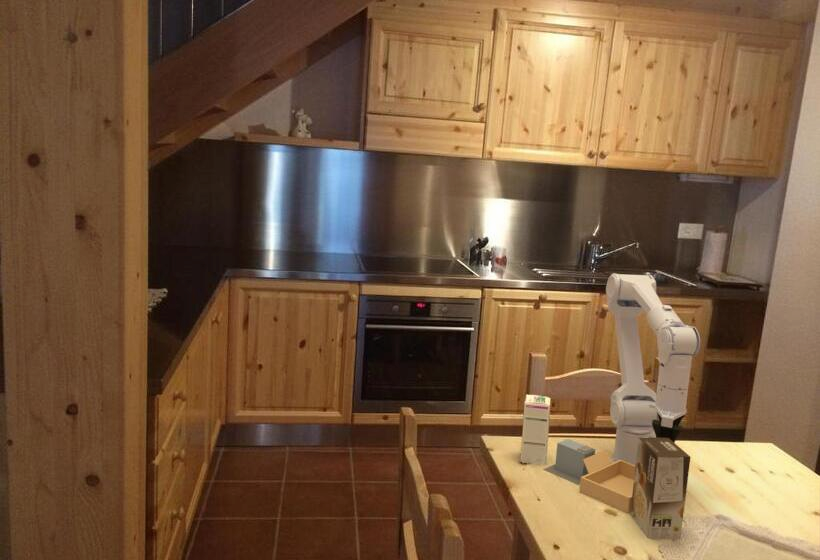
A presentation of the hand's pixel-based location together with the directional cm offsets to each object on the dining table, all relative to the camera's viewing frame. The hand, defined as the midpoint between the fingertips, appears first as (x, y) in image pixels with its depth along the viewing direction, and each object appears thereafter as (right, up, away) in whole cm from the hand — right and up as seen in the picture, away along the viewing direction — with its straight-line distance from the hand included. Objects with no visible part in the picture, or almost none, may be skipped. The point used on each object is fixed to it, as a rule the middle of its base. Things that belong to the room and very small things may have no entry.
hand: (665, 450), depth 138 cm
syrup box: (-24, -7, +17) cm, 30 cm away
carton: (-8, -10, +2) cm, 13 cm away
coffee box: (-6, -12, -11) cm, 17 cm away
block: (-16, -7, +10) cm, 20 cm away
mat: (-16, -8, +11) cm, 21 cm away
